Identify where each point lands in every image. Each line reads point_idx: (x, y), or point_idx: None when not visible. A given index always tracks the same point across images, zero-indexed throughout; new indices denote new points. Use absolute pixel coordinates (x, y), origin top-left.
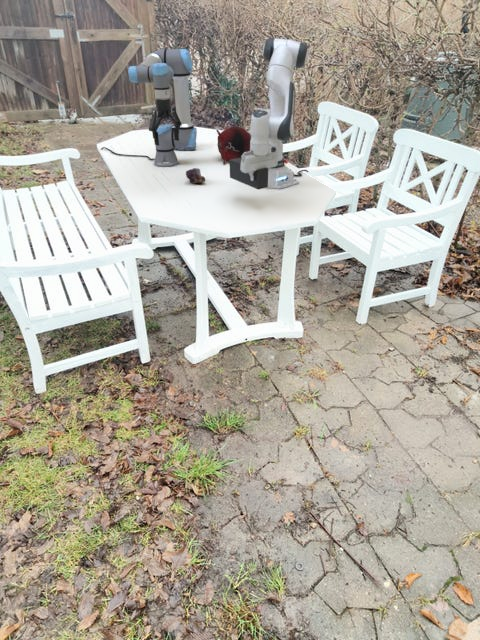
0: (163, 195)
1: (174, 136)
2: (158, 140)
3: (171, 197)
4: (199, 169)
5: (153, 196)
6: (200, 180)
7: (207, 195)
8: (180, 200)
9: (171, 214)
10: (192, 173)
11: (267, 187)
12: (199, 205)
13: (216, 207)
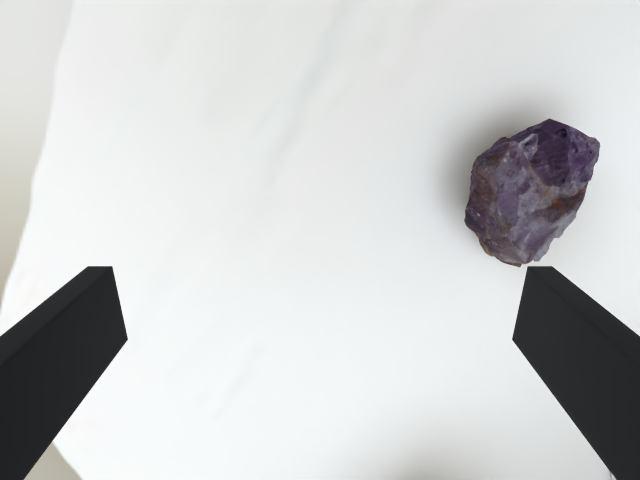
0: (216, 212)
1: (559, 301)
2: (84, 392)
3: (229, 267)
4: (537, 260)
5: (163, 183)
6: (487, 252)
7: (373, 366)
8: (236, 327)
9: (107, 412)
10: (484, 227)
11: (611, 476)
12: (258, 420)
13: (291, 472)
